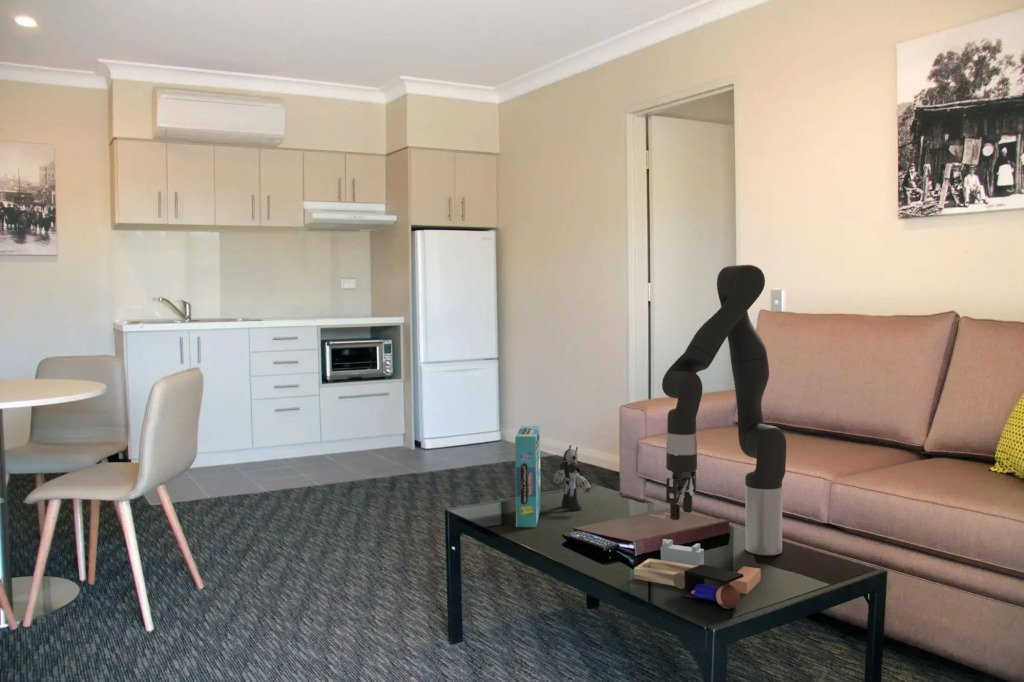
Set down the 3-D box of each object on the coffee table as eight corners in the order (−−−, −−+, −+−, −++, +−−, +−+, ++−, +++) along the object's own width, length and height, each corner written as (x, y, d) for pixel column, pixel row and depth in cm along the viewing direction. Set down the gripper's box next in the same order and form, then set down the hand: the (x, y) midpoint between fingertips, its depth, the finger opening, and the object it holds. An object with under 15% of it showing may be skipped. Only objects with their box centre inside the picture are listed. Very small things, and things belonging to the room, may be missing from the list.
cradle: (649, 568, 207) (649, 558, 207) (704, 577, 200) (704, 567, 199) (634, 578, 200) (634, 568, 199) (690, 588, 192) (690, 577, 192)
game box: (521, 510, 267) (520, 425, 266) (541, 510, 267) (540, 425, 266) (515, 527, 247) (514, 436, 246) (537, 527, 246) (535, 436, 245)
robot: (548, 503, 277) (548, 442, 276) (561, 501, 279) (560, 441, 278) (582, 515, 260) (581, 451, 259) (595, 513, 262) (594, 449, 261)
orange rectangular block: (743, 578, 200) (743, 566, 199) (760, 581, 197) (760, 568, 197) (729, 592, 190) (729, 579, 190) (746, 595, 188) (746, 582, 188)
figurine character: (672, 602, 187) (728, 614, 176) (669, 568, 188) (725, 576, 176) (692, 595, 192) (748, 606, 180) (689, 562, 192) (744, 570, 180)
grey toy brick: (665, 561, 213) (665, 537, 213) (704, 567, 208) (703, 543, 208) (660, 564, 211) (660, 541, 210) (699, 570, 205) (699, 546, 205)
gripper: (677, 445, 216) (677, 508, 217) (656, 454, 204) (656, 520, 205) (706, 448, 212) (705, 511, 213) (685, 456, 200) (685, 524, 201)
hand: (681, 515), depth 209 cm, fingers open, 8 cm apart
